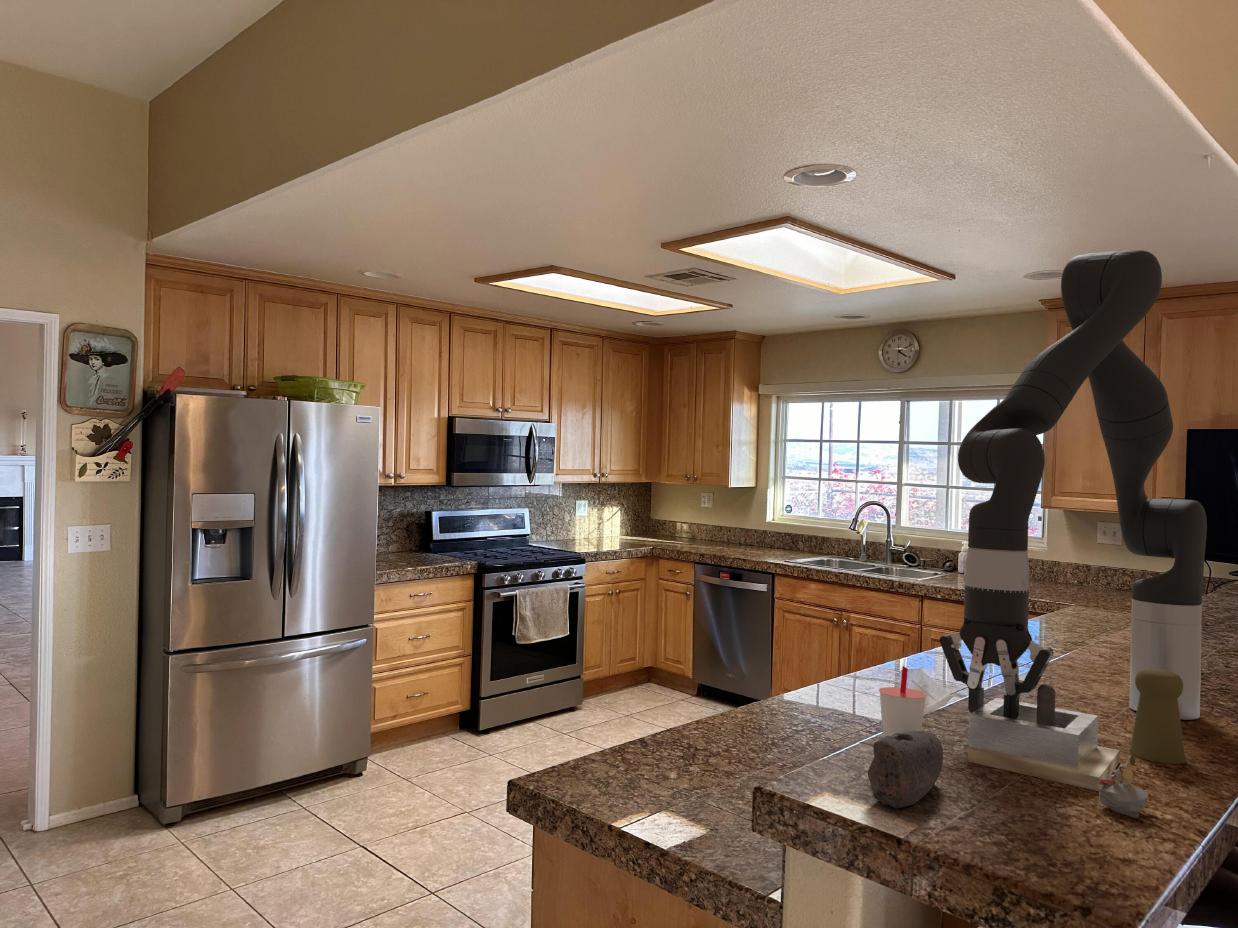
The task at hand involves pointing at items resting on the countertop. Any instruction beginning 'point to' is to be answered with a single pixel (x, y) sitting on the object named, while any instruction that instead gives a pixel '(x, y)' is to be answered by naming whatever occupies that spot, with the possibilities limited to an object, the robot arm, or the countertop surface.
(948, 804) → the countertop surface
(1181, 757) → the cork
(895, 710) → the cup
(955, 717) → the countertop surface
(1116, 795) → the figurine
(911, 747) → the perforated stone tool
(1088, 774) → the block
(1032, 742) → the grey hollow block
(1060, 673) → the countertop surface
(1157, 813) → the countertop surface
